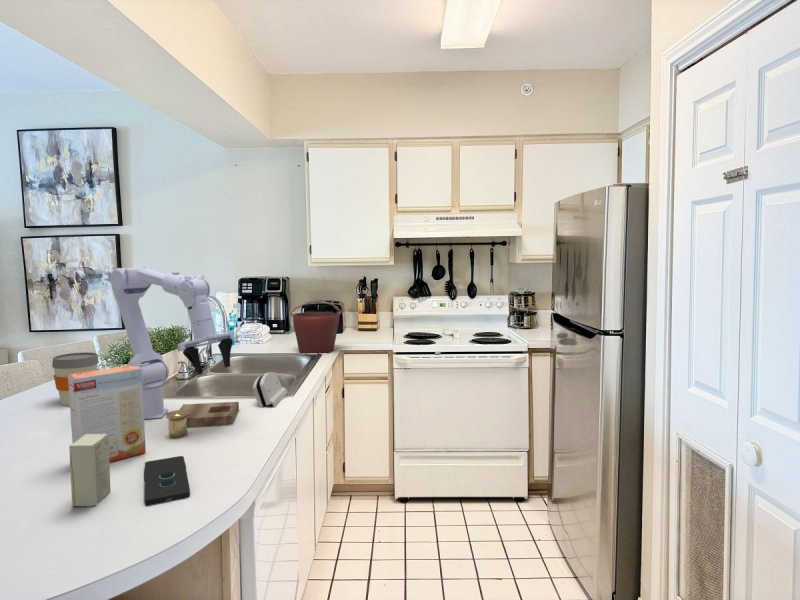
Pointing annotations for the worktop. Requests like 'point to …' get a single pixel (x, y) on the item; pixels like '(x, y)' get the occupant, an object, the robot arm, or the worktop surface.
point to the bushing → (177, 423)
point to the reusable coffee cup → (71, 370)
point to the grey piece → (268, 389)
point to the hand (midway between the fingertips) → (214, 370)
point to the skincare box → (89, 469)
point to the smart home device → (165, 480)
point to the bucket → (316, 329)
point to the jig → (211, 413)
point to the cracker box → (109, 408)
